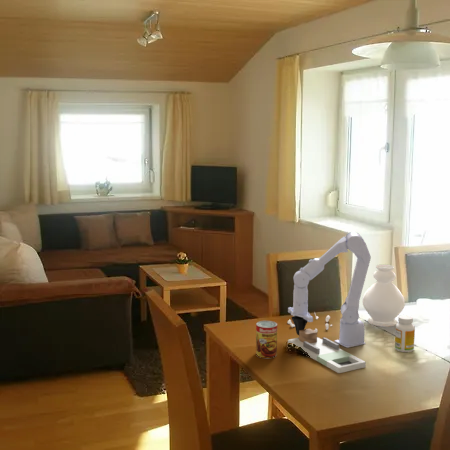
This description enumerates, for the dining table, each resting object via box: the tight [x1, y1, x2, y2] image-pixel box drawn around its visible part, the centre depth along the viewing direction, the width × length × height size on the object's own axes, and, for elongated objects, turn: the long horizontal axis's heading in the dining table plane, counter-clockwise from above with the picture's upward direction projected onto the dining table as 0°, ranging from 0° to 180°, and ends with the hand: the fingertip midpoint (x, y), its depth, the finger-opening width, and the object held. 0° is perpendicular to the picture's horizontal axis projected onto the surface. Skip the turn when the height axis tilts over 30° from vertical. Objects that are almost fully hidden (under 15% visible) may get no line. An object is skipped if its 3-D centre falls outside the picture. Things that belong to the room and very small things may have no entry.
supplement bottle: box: [394, 314, 416, 353], centre depth 243 cm, size 7×7×13 cm
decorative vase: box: [362, 263, 406, 328], centre depth 275 cm, size 18×18×25 cm
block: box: [298, 328, 318, 343], centre depth 247 cm, size 5×5×4 cm
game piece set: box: [287, 312, 333, 333], centre depth 273 cm, size 19×20×4 cm
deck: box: [287, 336, 367, 374], centre depth 238 cm, size 12×32×4 cm, turn 28°
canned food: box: [255, 320, 278, 358], centre depth 238 cm, size 8×8×12 cm
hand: (299, 334), depth 252 cm, fingers closed
